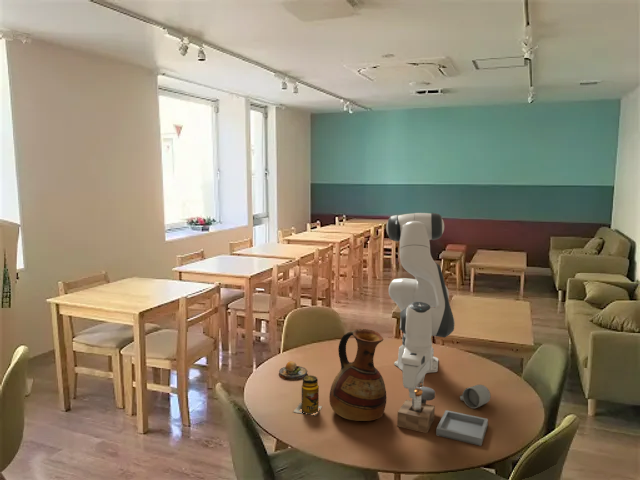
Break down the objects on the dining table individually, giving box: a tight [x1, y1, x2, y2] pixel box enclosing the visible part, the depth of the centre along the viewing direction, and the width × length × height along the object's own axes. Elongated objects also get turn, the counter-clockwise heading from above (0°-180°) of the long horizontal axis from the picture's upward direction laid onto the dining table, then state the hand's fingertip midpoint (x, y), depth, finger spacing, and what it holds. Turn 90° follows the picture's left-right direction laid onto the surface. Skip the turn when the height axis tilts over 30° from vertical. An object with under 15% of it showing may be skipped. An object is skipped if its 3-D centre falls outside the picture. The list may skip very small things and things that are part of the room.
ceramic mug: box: [459, 384, 491, 409], centre depth 182 cm, size 10×8×7 cm
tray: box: [435, 409, 489, 447], centre depth 163 cm, size 14×14×2 cm
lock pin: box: [411, 388, 423, 413], centre depth 167 cm, size 4×4×12 cm
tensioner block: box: [396, 385, 436, 434], centre depth 171 cm, size 18×10×8 cm, turn 154°
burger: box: [278, 360, 308, 381], centre depth 208 cm, size 12×12×8 cm
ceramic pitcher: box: [328, 328, 388, 422], centre depth 172 cm, size 20×20×30 cm
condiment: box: [293, 375, 323, 417], centre depth 176 cm, size 7×8×12 cm
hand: (416, 391), depth 166 cm, fingers open, 8 cm apart
